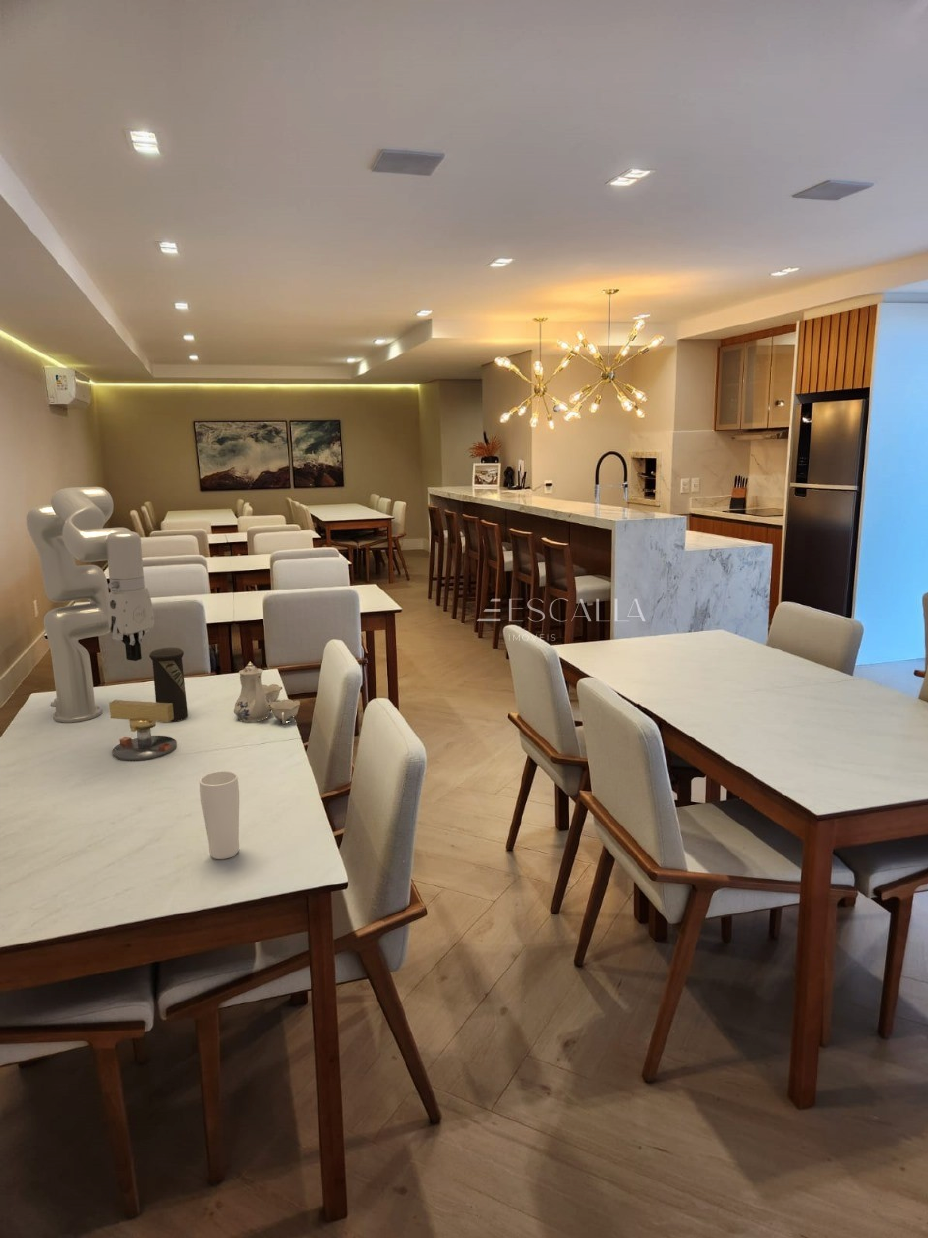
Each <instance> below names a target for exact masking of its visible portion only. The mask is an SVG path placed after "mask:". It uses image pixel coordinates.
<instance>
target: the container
mask: <svg viewBox="0 0 928 1238" xmlns="http://www.w3.org/2000/svg"><path fill="white" fill-rule="evenodd" d="M184 654H185V652H184V650H183V649H181V648H180V647H179V648H178V647H164V648H163V647H162V648H158V649H157V648H156V649H154V650H152V651H151V652H150V653H149V655H148V656H149V658H150V661H152V662H151V663H152V671H153V683H154V684H153V685H154V697H155V703H172V704H173V714H174V719H173V720H171V721H169V722H168V723H174V722H175V723H176V722H181V721H184V720H187V718H188V717H189V713H188V702H187V692H186V685H185V684H186V683H185V675H184V664H183V657H184Z"/></svg>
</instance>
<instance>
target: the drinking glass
mask: <svg viewBox="0 0 928 1238" xmlns="http://www.w3.org/2000/svg"><path fill="white" fill-rule="evenodd" d="M238 779H239V778H238V775H237V773H235V772H232V771H227V770H222V771H215V772H214V771H213V772H210V773H207V774H205V775H203V776H202V777H201V778H200V779H199V794H200V804H201V810H202V815H203V821H204V824H205V825H204V826H205V827H204V828H205V831H206V836H207V843H208V851H209V856H210V857H211V858H213V859H216V860H227V859H230V858H232V857H234V856H236V855H237V854H239V851H240V839H239V837H240V836H239V835H240V828H239V827H240V789H239V788H240V786H239V780H238Z"/></svg>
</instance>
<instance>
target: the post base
mask: <svg viewBox="0 0 928 1238" xmlns="http://www.w3.org/2000/svg"><path fill="white" fill-rule="evenodd" d="M118 741H119V744H117V745H115V746H114V747H113V749H112V756H113V758H115V759H116V760H119V761H121V762H122V761H123V762H143V761H144V762H145V761H151V760H155V759H158V758H162V757H164V756H168V755H170V754H172V753H173V752H174V751H175V750H176V749H177V748H178V742H177V740H176V739H175V738H173V737H171V736H166V735H152V732H151V728H150V729H146V730H137V731H136V737H135V738H132V737H128V736H124V737H122V738H119V740H118Z"/></svg>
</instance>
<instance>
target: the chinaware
mask: <svg viewBox="0 0 928 1238" xmlns="http://www.w3.org/2000/svg"><path fill="white" fill-rule="evenodd" d="M263 671H264V670H263V669H262V668H257V666H256V665H254V663H252V662H251V661H249V662H248V664H247V665H246V666H245V667H244V668H243V669H242V670H239V672H238V673H239V680H240V681H239V682H240V685H241V690H240V694H239V697H238V699H236V702H235V704H234V709H233V712H234V714H235V715H236V716H237V717H238V718H239V719H238V720H239V721H240V720H242V721H241V722H243V721H257V722H259V721H258V720H262V719H264V718H266V717H268V715H269V716H270V713H271V712H272V715H273V716H274V717H275V718H276V719H277V720H278V721H279V722H280V721H282V723H283V724H282V723H281V724H282V725H285V723H286V721H292V720H294V718H296V716H297V714H298V711H299V708H300V706H301V701H300V700H292V699H289V698H285V699H282V700H280V701H277V700H278V698H279V696H280V693H281V690H283V687H282V686H280V685H278V684H276V683H271V684H269V685H266V684H263V683H262V675H263ZM293 716H294V717H293ZM268 718H269V717H268ZM262 721H263V720H262Z"/></svg>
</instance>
